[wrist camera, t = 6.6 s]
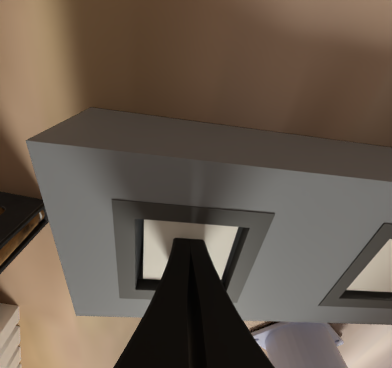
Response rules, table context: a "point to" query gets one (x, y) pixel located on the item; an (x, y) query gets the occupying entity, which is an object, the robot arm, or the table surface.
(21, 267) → the table surface
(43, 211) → the ammunition clip
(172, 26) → the table surface
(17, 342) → the organizer
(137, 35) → the table surface
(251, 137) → the block
